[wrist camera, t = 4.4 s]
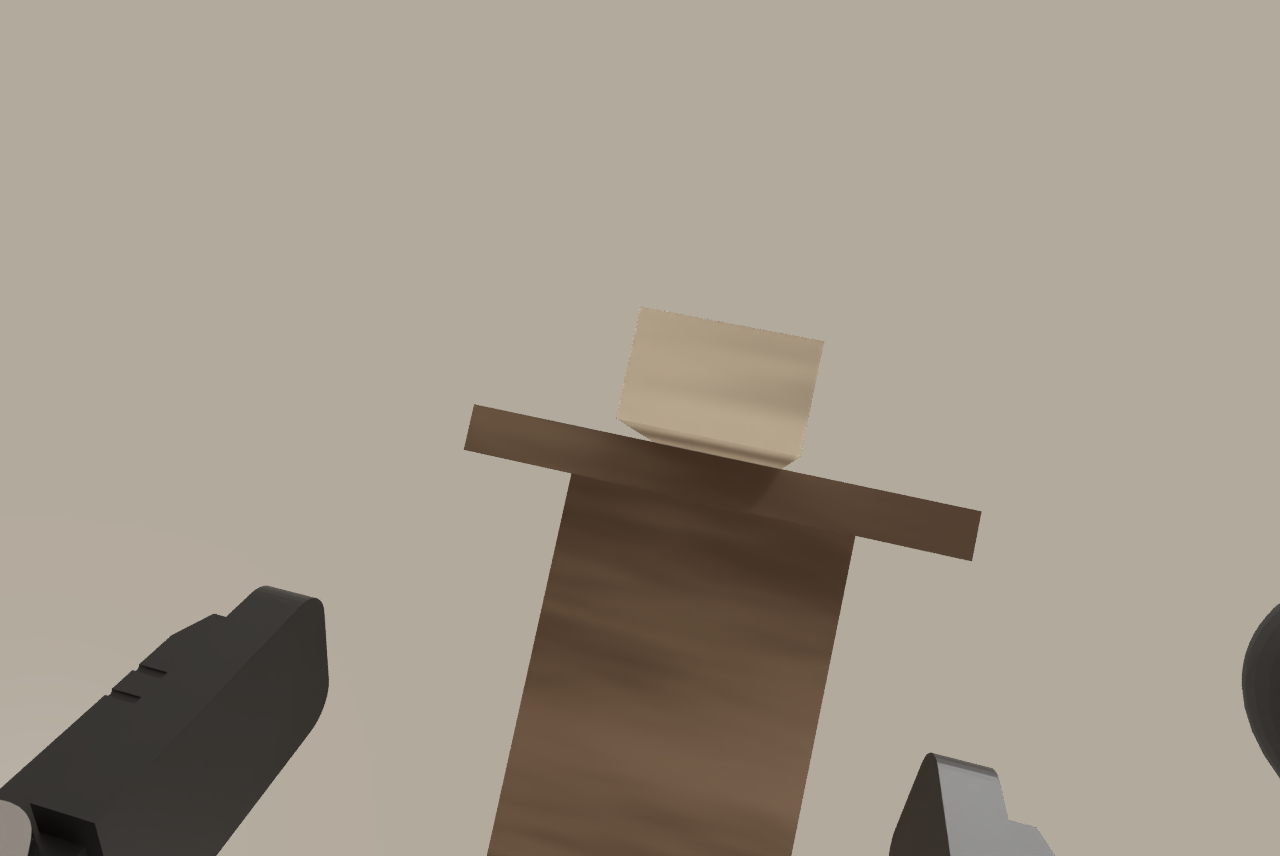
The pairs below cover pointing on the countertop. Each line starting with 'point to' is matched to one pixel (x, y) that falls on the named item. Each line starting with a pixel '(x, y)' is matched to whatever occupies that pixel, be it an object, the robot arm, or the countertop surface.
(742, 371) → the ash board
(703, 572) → the walnut stand
